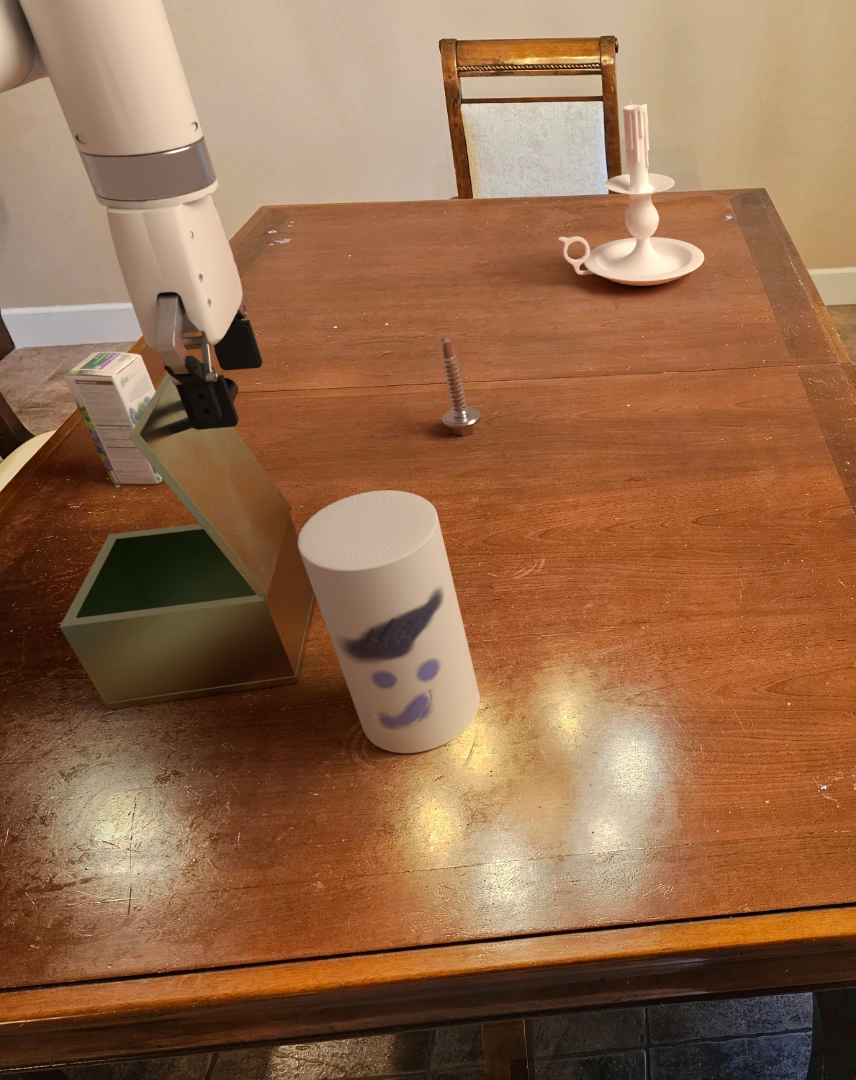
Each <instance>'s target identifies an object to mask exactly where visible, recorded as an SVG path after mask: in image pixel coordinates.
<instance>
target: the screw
mask: <svg viewBox="0 0 856 1080" xmlns="http://www.w3.org/2000/svg"><path fill="white" fill-rule="evenodd" d="M441 343H442V355H443V358H442V361H443V363H442V365H443V366H444V367H443V370H444V374H445V379H447V380H446V383H447V387H448V392H449V393H448V395H449V396H450V397H449V399H450V400H451V401H450V404H451V409H449V410H447V411H446V412H445V413H444V414H443V415H442V417H441V422H442V424H443V426H445V427H447V428H450V429H452V430H453V434H454V435H456V436H460V437H465V436H468V435H471V434H474V431H475V425H476V424H478V423H479V422H480V421H481V419H482V413H481V411H480V410H479V409H476V408H475V407H473V406H468V404H467V400H466V398H467V397H466V394H465V389H464V385H463V380H462V375H461V374H462V373H461V370H460V369H461V368H460V367H459V366H460V363H459V359H458V358H457V354H456V353H455V350H454V347H453V343H452V342H451V339H450V338H449V337H447V336H445V337H443V338H442V339H441Z"/></svg>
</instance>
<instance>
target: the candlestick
mask: <svg viewBox="0 0 856 1080" xmlns="http://www.w3.org/2000/svg"><path fill="white" fill-rule="evenodd" d="M629 103H630V104H628V105H625V106H623V107H622V113H623V115H622V116H623V129H624V143H625V146H624V147H625V159H626V160H625V161H626V170H627V171H628V173H626V174H625V173H624V174H620V175H616V176H612V177H611V178H609V179H607V180H606V181H605V182H604V187H605V188H606V189H608V190H609V191H611V192H614V193H619V194H623V195H624V194H625V195H628V197H629V199H630V200H629V205H628V207H627V208H626V211H625V214H624V224H625V226H626V228H627V231H628V232H629V233H630V235H632V237H628V238H621V239H616V240H612V241H608V242H605V243H601V244H600V245H597V246H595V247H594V248H592V249H591V248H590V245H589V243H588V241H587V240H586V239H585V238H584V237H583V236H579V235H575V236H570V237H565V236H559V237H557V239H558V241H559V242H563V244H562V248H561V249H562V251H561V253H562V256H563V258H564V259H565V260H566V261H567V262H568V263H569V264H571V265H572V266H573V267H572V268H573V269H574V272H575V273H576V274H577V275H580V276H586V275H597V276H599V277H603V278H605V279H607V280H609V281H611V282H615V283H618V284H621V285H628V286H642V287H643V286H656V285H661V284H666V283H669V282H672V281H675V280H678V279H680V278H681V277H684V276H685V275H687V274H689V273H691V272H693V271H695V270H696V269H699V267H700V266H702V264H703V263H704V260H705V255H704V252H703V251H702V250H701V249H700V248H699V247H697V246H695V244H692V243H689V242H687V241H684V240H679V239H676V238H669V237H659V236H653V235H654V234H655V233H656V230H657V229H658V226H659V223H660V216H659V213H658V210H657V209H656V207H655V205H654V204H653V202H652V196H653V195H654V194H657V193H661V192H665V191H666V190H670V189H671V188H673V187H674V186H675V183H676V181H675V180H674V179H673V178H671V177H670V176H667V175H665V174H660V173H654V172H653V173H652V172H649V168H650V164H649V151H650V140H649V116H648V103H643V104H633V103H632V101H630V100H629ZM575 242H580V243H582V244H583V246H584V253H583V255H582V256H581V257H580V258H577V259H576V258H575V259H573V258H572V257H570V256H569V255H568V249H569V246H570V245H572V244H573V243H575ZM582 264H583V265H584V267H585V268H586V269H584V270H581V269H580V266H581V265H582Z"/></svg>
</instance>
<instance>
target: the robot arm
mask: <svg viewBox="0 0 856 1080" xmlns="http://www.w3.org/2000/svg"><path fill="white" fill-rule="evenodd" d="M45 78H49V80H50V83H51V86H52V89H53V91H54V93H55V95H56V98H57V101H58V103H59V105H60V108H61V111H62V114H63V116H64V120H65V122H66V124H67V126H68V129H69V131H70V134H71V136H72V139H73V141H74V144H75V147H76V150H77V151H78V154H79V157H80V160H81V162H82V164H83V167H84V170H85V172H86V174H87V177H88V180H89V182H90V185H91V188H92V190H93V193H94V196H95V198H96V201H97V202H98V204H100V205H102V206H104V207H106V210H105V211H106V217H107V221H108V226H109V227H108V228H109V231H110V236H111V239H112V243H113V249H114V251H115V255H116V258H117V262H118V265H119V268H120V269H119V270H120V272H121V275H122V277H123V278H122V279H123V281H124V284H125V287H126V290H127V293H128V296H129V299H130V302H131V304H132V307H133V311H134V313H135V315H136V316H135V317H136V320H137V322H138V323H137V324H138V326H139V328H140V331H141V333H142V336H143V339H144V341H145V344H146V345H147V346H148V347H149V348H151V349H152V350H155V351H156V353H157V355H158V356H159V357H160V359H161V361H162V362H163V365H164V366H163V368H164V370H165V371H166V373H167V372H168V373H169V374H170V378H171V381H172V383H173V384H174V385H176V388H177V391H178V393H179V396H180V398H181V401H182V403H183V406H184V409H185V411H186V414H187V416H188V419H189V422H190V424H191V426H192V428H194V429H196V430H202V429H213V428H225V427H234V428H235V427H236V426H237V425H238V423H239V421H240V419H239V416H238V414H237V410H236V407H235V404H234V402H233V401H232V398H231V395H230V393H229V390H228V387H227V384H226V381H225V378H226V377H225V375H224V374H219V375H218V367H217V362H218V365H219V367H220V369H221V370H223V371H237V370H251V369H259V368H261V367H262V365H263V358H262V354H261V351H260V348H259V346H258V342H257V340H256V336H255V332H254V329H253V327H252V323H251V320H250V319H248V309H247V306H246V304H245V302H244V301H243V295H244V294H243V287H242V282H241V278H240V274H239V270H238V266H237V263H236V260H235V257H234V254H233V251H232V248H231V245H230V242H229V239H228V236H227V233H226V231H225V228H224V225H223V223H222V219H221V217H220V215H219V212H218V209H217V207H216V204H215V202H214V199H213V196H212V194H214V193H216V191H218V189H219V188H220V185H219V181H218V178H217V175H216V171H215V168H214V165H213V162H212V158H211V155H210V152H209V149H208V146H207V142H206V139H205V136H204V133H203V130H202V127H201V123H200V120H199V117H198V114H197V113H198V112H197V109H196V107H195V103H194V100H193V97H192V95H191V91H190V87H189V84H188V81H187V77H186V75H185V71H184V67H183V65H182V62H181V59H180V54H179V51H178V49H177V45H176V42H175V39H174V36H173V32H172V29H171V26H170V23H169V19H168V17H167V13H166V9H165V7H164V4H163V0H0V94H2V93H4V92H8V91H11V90H14V89H17V88H20V87H21V86H25V85H27V84H29V83H30V84H31V83H32V82H35V81H37V80H40V79H45ZM191 333H201V335H198V336H197V335H196V336H184V334H191ZM189 350H191V351H192V350H200V351H201V352H200V353H201V360H202V361H200V360H199V359H198V358H197V357H196V356H194V355H192V354H191V355H188V353H187V352H188V351H189ZM216 358H217V359H216Z"/></svg>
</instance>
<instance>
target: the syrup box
mask: <svg viewBox="0 0 856 1080" xmlns="http://www.w3.org/2000/svg"><path fill="white" fill-rule="evenodd" d="M63 378H64V381H65V383H66V385H67V387H68V390H69V391H70V394H71V396H72V398H73V401H74V403H75V405H76V407H77V409H78V411H79V413H80V416H81V418H82V420H83V422H84V424H85V426H86V428H87V431H88V433H89V435H90V437H91V439H92V442H93V444H94V446H95V449H96V450H97V453H98V455H99V457H100V459H101V461H102V464H103V465H104V468H105V470H106V473H107V475H108V476H109V479H110V481H111V483H113V484H115V485H160V484H161V483H162V482H163V481H164V480H163V479H162V478H161V476H160V475H159V474H158V473H157V472H156V470H155V469H154V468H153V467H152V465H151V464H150V463H149V462H148V461H147V459H146V458H145V457H144V456H143V454H142V453H141V452H140V451H139V449H138V448H137V447H136V446H135V445H134V443H133V442H132V441H131V440H130V438H129V437H130V435H131V433H132V431H133V430H134V428H135V426H136V425H137V423H138V421H139V419H140V418H141V416H142V414H143V413H144V411H145V409H146V408H147V406H148V404H149V402H150V401H151V399H152V397H153V396H154V394H155V392H156V389H155V387H154V384H153V382H152V379H151V376H150V374H149V372H148V369H147V367H146V364H145V362H144V359H143V357H142V354H138V353H130V352H123V351H96V352H92V353H90V354H89V355H88V356H87V357H86V358H84V359H83V360H82V361H80V362H79V363H77V364H76V365H75V366H74V367H73V368H71V369H70V370H69V371H67V372H66V373H65V374H63Z"/></svg>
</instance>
